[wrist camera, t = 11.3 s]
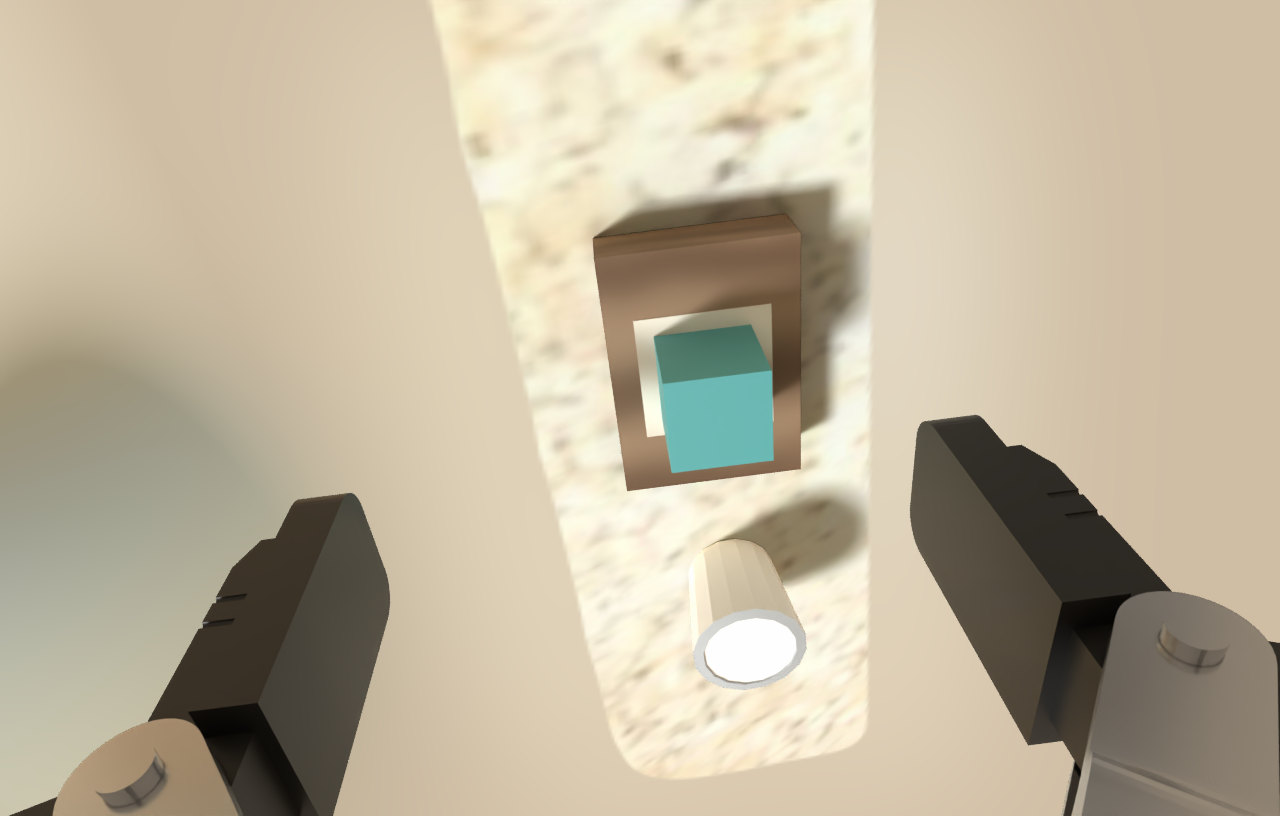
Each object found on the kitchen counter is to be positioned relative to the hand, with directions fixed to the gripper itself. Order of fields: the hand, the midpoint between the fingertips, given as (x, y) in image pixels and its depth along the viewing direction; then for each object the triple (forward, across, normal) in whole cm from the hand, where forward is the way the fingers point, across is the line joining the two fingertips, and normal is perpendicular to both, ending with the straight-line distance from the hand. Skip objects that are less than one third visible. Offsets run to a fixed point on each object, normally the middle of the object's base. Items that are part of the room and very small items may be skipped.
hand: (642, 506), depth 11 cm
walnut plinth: (+30, -4, +13) cm, 33 cm away
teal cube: (+27, -4, +13) cm, 30 cm away
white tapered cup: (+30, -5, +30) cm, 43 cm away
